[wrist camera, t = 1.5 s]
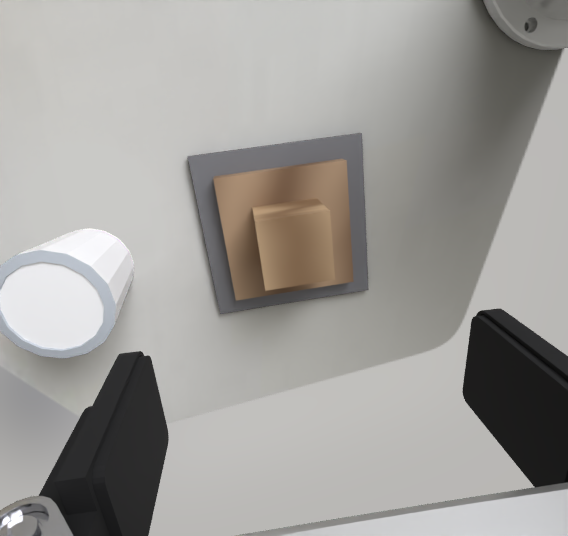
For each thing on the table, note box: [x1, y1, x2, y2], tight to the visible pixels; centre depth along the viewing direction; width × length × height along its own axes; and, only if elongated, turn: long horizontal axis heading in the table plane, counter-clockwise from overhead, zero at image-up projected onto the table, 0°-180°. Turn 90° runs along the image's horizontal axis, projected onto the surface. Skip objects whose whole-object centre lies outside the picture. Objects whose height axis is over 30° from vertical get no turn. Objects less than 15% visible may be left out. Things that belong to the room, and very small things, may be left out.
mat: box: [188, 133, 368, 314], centre depth 28 cm, size 12×12×1 cm
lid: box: [213, 159, 354, 301], centre depth 26 cm, size 9×9×5 cm
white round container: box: [0, 228, 134, 358], centre depth 25 cm, size 7×7×7 cm
